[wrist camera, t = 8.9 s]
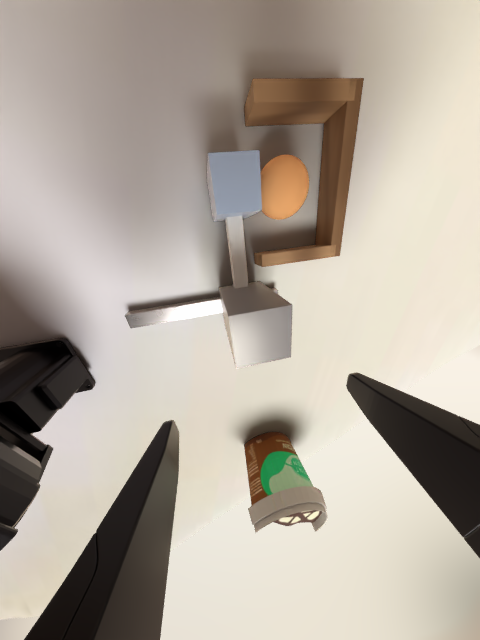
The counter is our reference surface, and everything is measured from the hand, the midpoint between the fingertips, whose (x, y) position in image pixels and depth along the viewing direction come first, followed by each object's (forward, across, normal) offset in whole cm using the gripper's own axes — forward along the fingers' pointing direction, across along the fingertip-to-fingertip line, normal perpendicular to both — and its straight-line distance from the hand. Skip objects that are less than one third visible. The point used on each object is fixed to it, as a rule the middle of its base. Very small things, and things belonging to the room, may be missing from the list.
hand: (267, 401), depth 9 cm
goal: (+12, -7, -10) cm, 17 cm away
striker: (+12, -1, -6) cm, 13 cm away
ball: (+10, -5, -10) cm, 15 cm away
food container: (+12, -4, +26) cm, 29 cm away
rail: (+12, +2, -1) cm, 12 cm away
